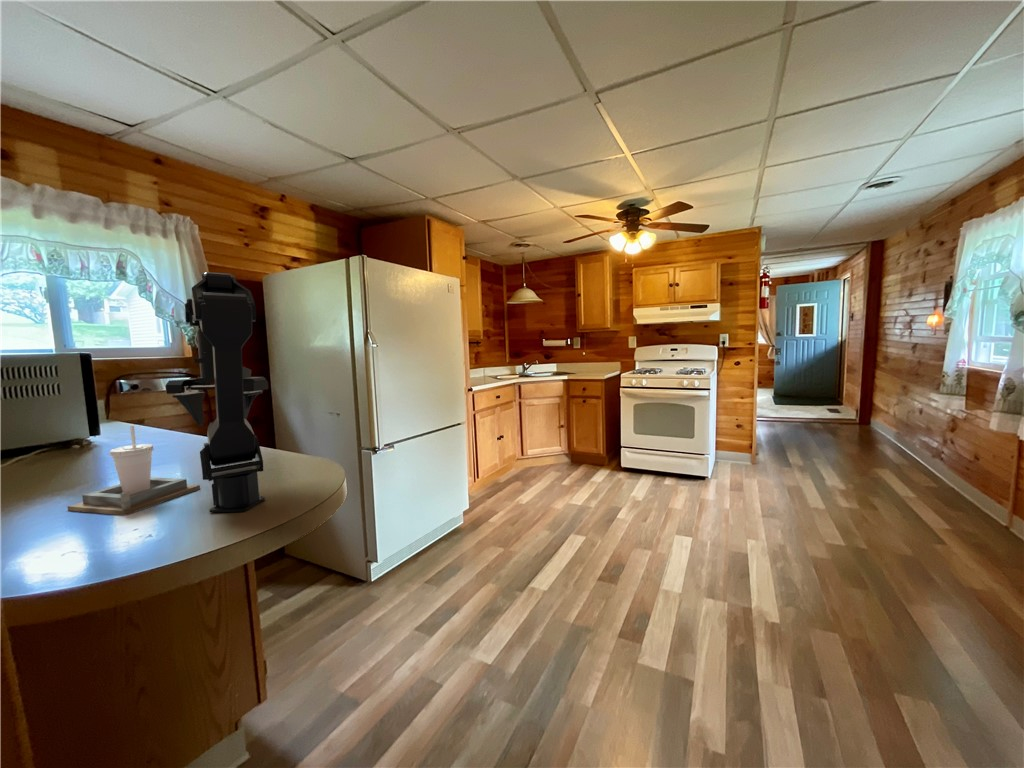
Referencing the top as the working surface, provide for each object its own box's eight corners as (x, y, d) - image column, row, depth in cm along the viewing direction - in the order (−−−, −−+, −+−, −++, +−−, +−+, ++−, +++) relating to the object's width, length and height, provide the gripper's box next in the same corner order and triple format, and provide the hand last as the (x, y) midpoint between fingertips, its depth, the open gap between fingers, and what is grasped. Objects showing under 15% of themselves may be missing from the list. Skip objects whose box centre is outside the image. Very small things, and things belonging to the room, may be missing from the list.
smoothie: (132, 502, 78) (124, 429, 77) (105, 500, 79) (97, 428, 78) (166, 490, 84) (159, 423, 83) (141, 489, 86) (134, 422, 84)
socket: (200, 488, 87) (198, 471, 87) (125, 515, 74) (123, 494, 73) (148, 485, 90) (146, 468, 90) (67, 510, 77) (65, 490, 76)
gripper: (279, 351, 96) (284, 417, 98) (200, 353, 97) (206, 419, 98) (249, 352, 85) (255, 426, 87) (159, 354, 85) (167, 428, 87)
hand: (221, 424), depth 90 cm, fingers open, 9 cm apart
